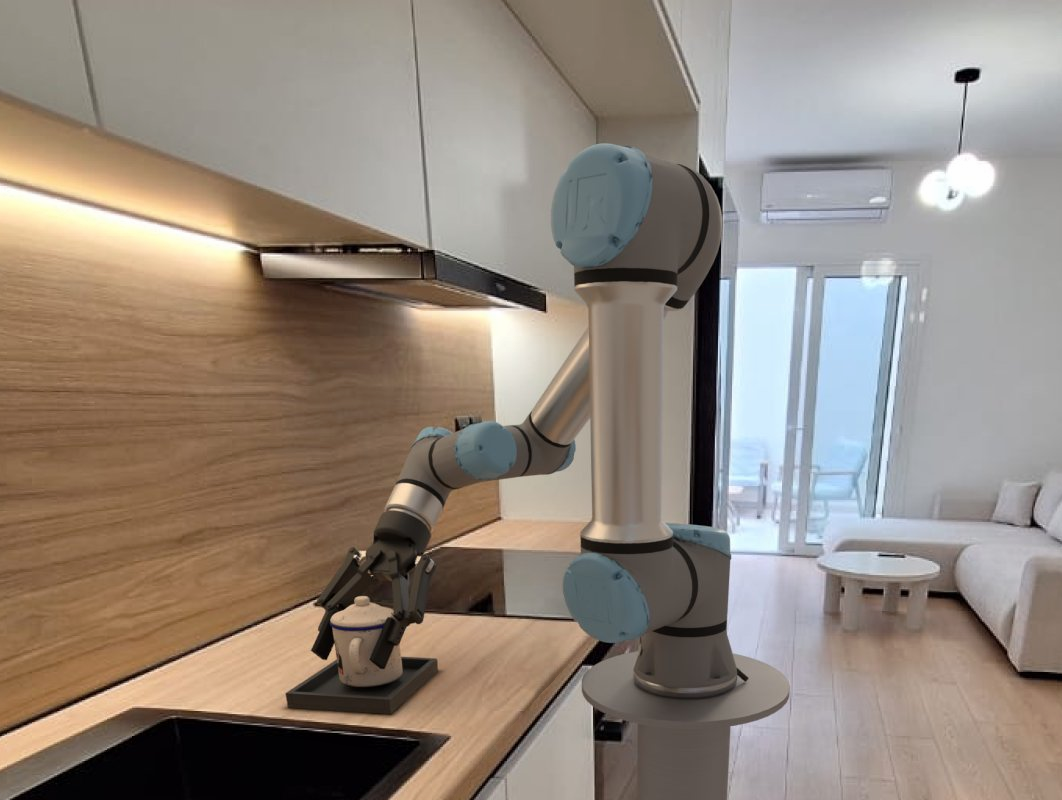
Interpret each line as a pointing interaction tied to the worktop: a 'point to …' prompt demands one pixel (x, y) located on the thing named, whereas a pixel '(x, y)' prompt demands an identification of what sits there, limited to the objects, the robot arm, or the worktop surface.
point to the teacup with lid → (363, 644)
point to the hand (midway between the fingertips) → (347, 659)
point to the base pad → (361, 689)
